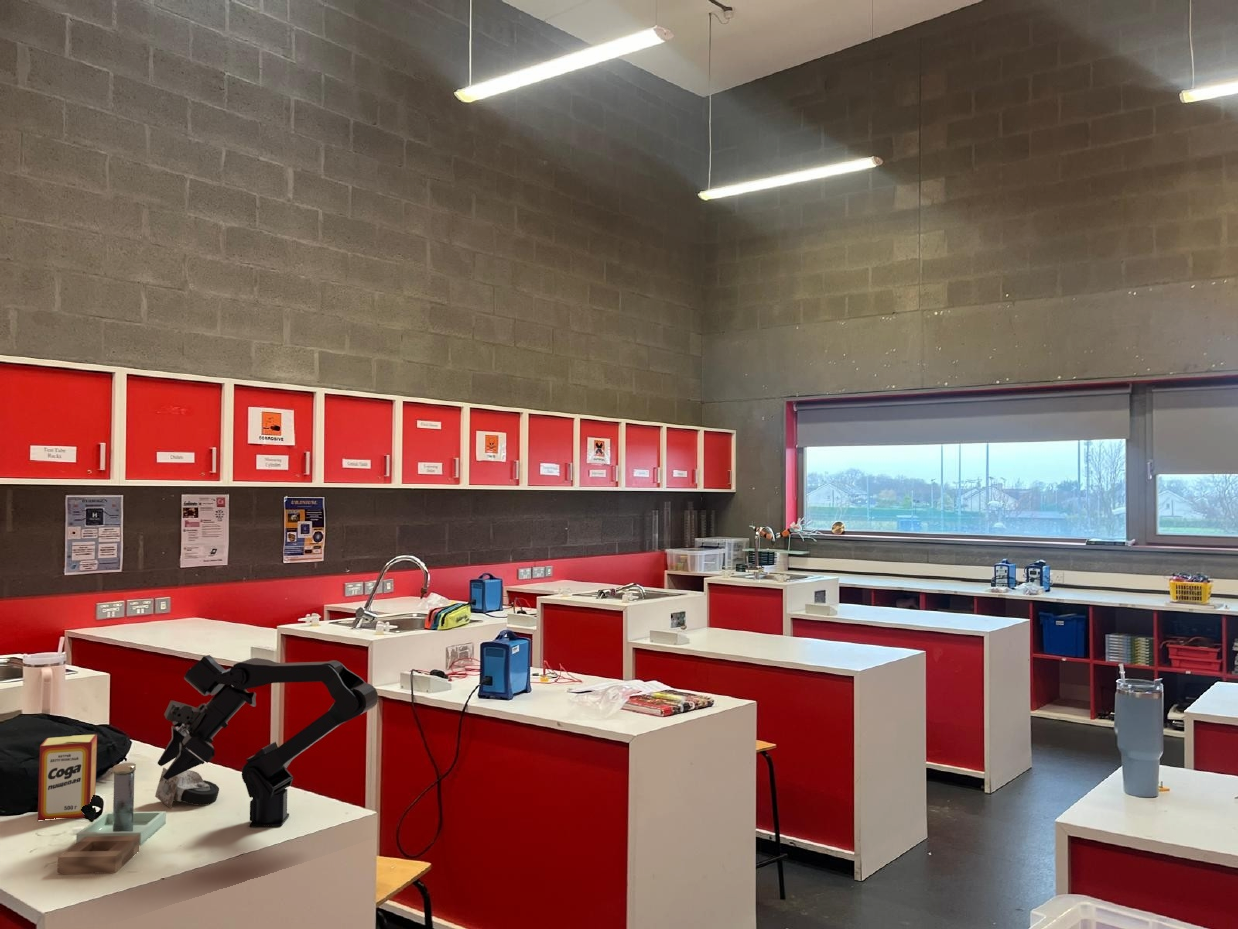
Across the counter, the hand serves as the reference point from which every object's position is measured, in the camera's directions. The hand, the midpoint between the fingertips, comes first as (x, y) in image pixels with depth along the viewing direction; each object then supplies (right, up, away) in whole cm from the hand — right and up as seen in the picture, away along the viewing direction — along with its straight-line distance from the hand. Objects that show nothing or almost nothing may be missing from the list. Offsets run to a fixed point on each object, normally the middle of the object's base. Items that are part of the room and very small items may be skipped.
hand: (161, 771), depth 189 cm
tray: (-6, -11, -4) cm, 13 cm away
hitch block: (-3, -11, -17) cm, 21 cm away
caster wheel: (-2, -12, +17) cm, 21 cm away
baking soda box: (-24, -12, +8) cm, 28 cm away
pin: (-6, -11, -4) cm, 13 cm away
